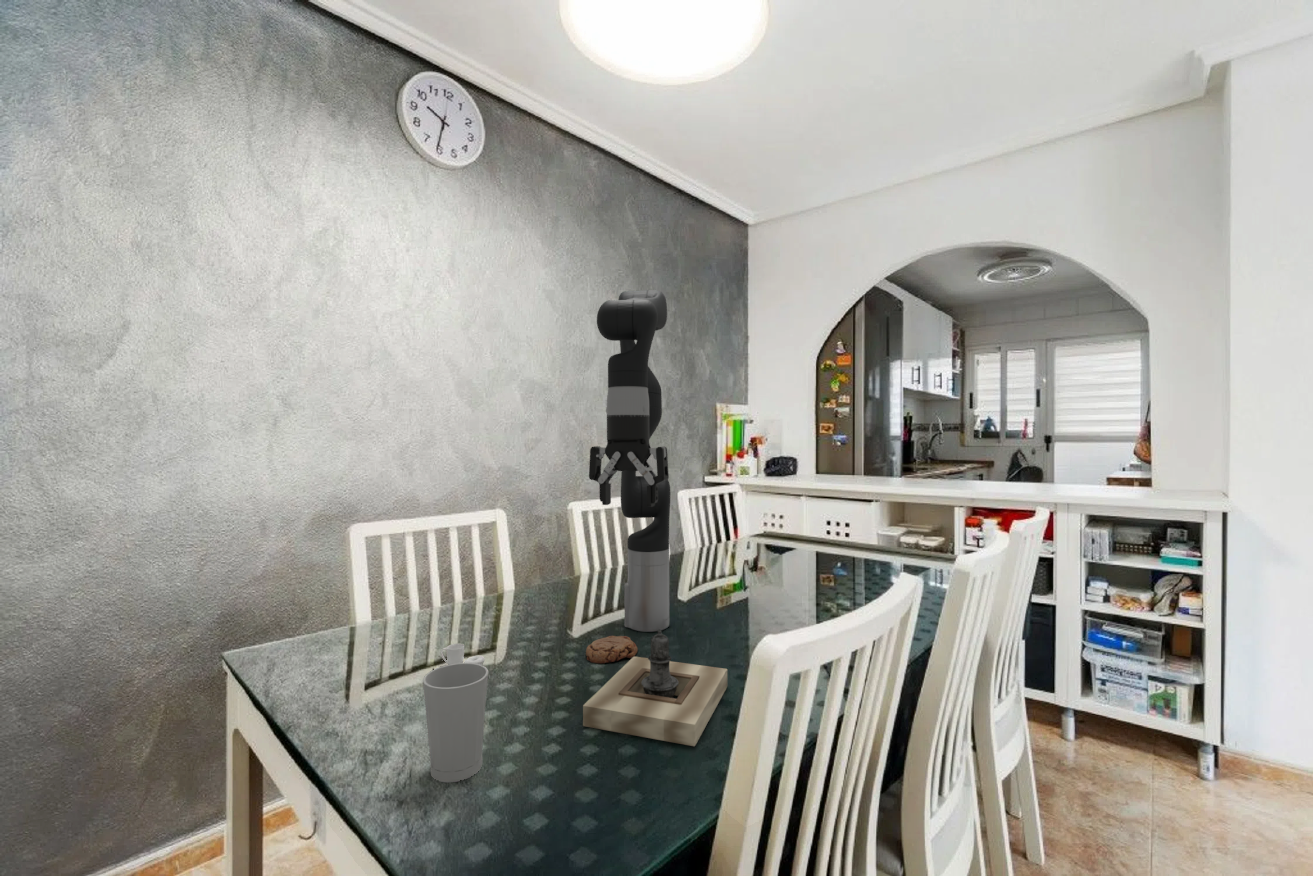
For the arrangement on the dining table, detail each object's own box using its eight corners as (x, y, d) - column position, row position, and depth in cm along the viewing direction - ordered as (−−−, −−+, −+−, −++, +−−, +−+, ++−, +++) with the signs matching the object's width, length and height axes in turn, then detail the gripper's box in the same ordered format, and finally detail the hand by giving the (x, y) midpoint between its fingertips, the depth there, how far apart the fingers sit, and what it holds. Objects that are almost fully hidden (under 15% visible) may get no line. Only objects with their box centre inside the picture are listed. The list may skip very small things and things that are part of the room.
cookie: (574, 661, 112) (574, 645, 112) (603, 642, 121) (603, 628, 121) (620, 670, 107) (620, 653, 107) (646, 650, 117) (646, 635, 117)
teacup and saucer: (490, 664, 110) (490, 643, 110) (460, 681, 103) (459, 658, 103) (455, 657, 114) (455, 636, 114) (423, 672, 107) (422, 650, 107)
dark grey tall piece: (674, 715, 90) (674, 636, 89) (637, 711, 91) (636, 634, 91) (681, 698, 95) (681, 624, 95) (646, 694, 97) (646, 621, 96)
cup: (434, 752, 79) (433, 663, 79) (494, 749, 80) (493, 661, 80) (414, 788, 71) (414, 689, 71) (481, 784, 72) (481, 687, 72)
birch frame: (583, 726, 86) (583, 703, 86) (633, 673, 105) (633, 654, 105) (694, 746, 81) (694, 722, 81) (727, 686, 99) (727, 667, 99)
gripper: (673, 413, 105) (673, 504, 105) (600, 414, 110) (600, 501, 110) (659, 412, 98) (659, 509, 98) (582, 413, 103) (582, 506, 103)
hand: (628, 505), depth 104 cm, fingers open, 8 cm apart
